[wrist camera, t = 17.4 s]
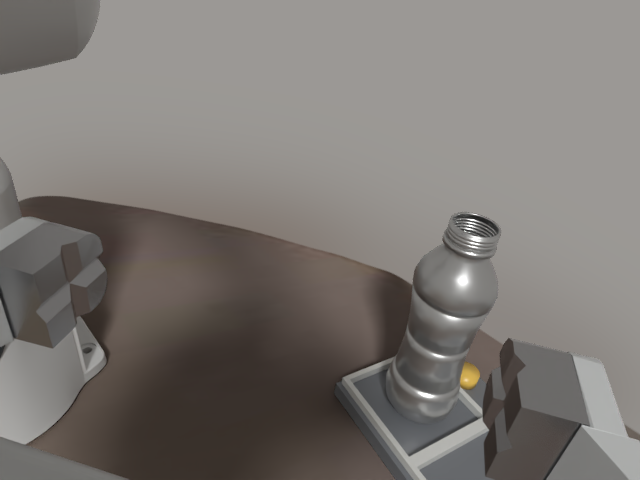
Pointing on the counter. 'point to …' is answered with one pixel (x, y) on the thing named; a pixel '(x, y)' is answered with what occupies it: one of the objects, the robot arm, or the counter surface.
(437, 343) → the plastic bottle
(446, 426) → the board
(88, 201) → the counter surface
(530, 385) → the robot arm
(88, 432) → the counter surface
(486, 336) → the counter surface
